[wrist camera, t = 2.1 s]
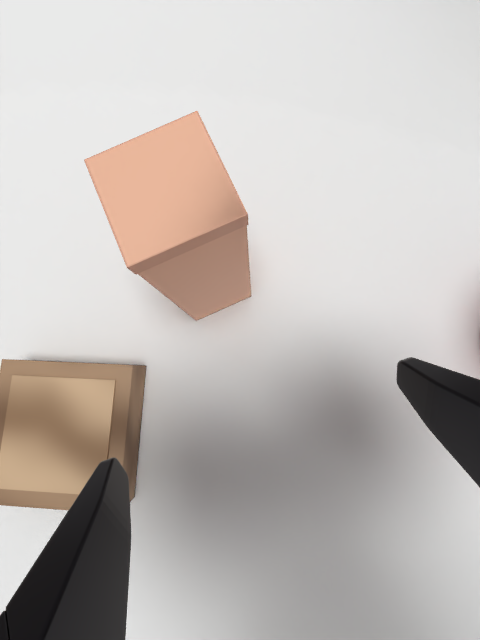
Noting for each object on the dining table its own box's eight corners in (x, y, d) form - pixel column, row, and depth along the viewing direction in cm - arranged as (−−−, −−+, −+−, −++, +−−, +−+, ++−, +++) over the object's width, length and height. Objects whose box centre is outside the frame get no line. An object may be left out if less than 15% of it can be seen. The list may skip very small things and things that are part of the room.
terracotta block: (251, 296, 23) (247, 214, 11) (196, 321, 23) (126, 267, 11) (227, 244, 24) (197, 110, 12) (173, 268, 24) (84, 159, 11)
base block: (134, 497, 21) (117, 514, 19) (10, 488, 22) (-24, 504, 19) (146, 365, 23) (131, 365, 20) (29, 360, 23) (0, 359, 21)
